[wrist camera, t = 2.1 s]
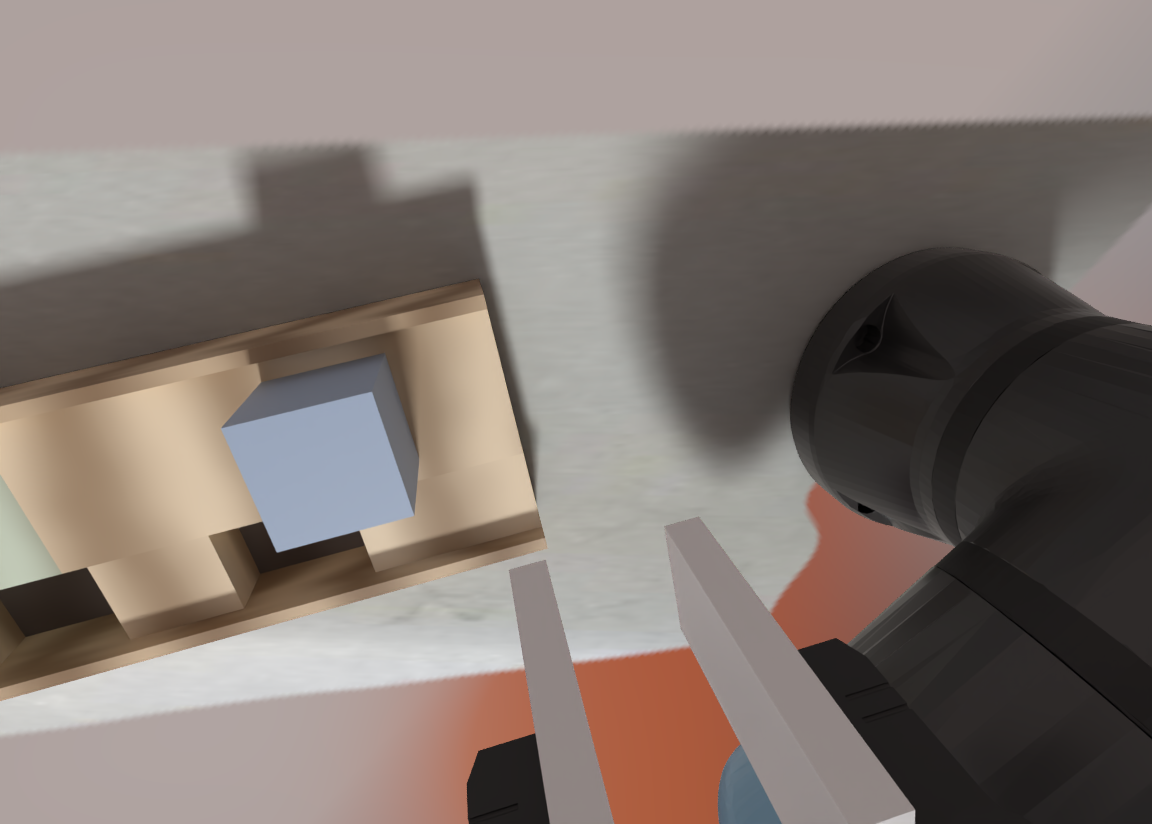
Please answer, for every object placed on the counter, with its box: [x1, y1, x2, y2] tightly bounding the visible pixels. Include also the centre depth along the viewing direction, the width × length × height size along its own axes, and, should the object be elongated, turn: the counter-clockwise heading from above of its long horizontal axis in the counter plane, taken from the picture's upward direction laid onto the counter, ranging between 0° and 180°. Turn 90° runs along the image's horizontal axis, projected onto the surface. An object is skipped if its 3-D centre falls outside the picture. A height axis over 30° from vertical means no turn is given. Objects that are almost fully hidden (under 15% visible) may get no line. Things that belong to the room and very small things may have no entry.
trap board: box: [0, 279, 547, 701], centre depth 26 cm, size 30×12×8 cm, turn 101°
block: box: [221, 353, 419, 552], centre depth 24 cm, size 5×5×5 cm
